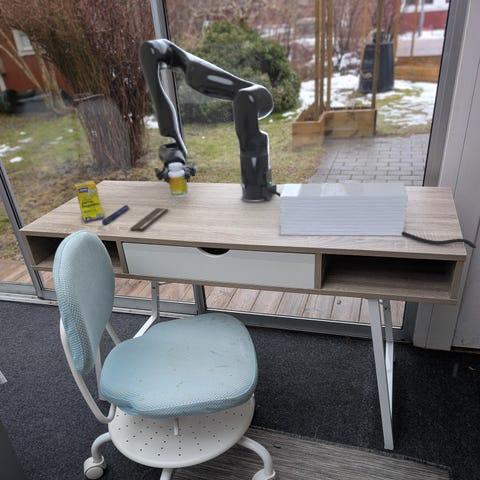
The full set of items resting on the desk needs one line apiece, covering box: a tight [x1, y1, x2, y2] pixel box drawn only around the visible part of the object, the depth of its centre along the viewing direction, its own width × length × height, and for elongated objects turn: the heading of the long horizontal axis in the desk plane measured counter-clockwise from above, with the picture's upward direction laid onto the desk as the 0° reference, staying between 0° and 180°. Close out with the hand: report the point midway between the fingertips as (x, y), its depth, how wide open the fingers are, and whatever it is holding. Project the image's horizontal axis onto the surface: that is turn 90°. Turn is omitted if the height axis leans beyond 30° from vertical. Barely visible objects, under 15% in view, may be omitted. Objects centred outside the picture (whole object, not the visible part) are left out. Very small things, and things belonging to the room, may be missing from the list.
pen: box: [101, 204, 130, 226], centre depth 150 cm, size 15×2×2 cm, turn 161°
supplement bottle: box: [168, 163, 189, 198], centre depth 149 cm, size 5×5×10 cm
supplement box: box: [73, 180, 105, 223], centre depth 149 cm, size 6×6×11 cm
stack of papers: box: [279, 181, 409, 237], centre depth 128 cm, size 32×11×11 cm, turn 80°
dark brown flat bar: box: [130, 207, 169, 233], centre depth 146 cm, size 17×4×1 cm, turn 161°
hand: (177, 178), depth 146 cm, fingers closed on supplement bottle, 5 cm apart
